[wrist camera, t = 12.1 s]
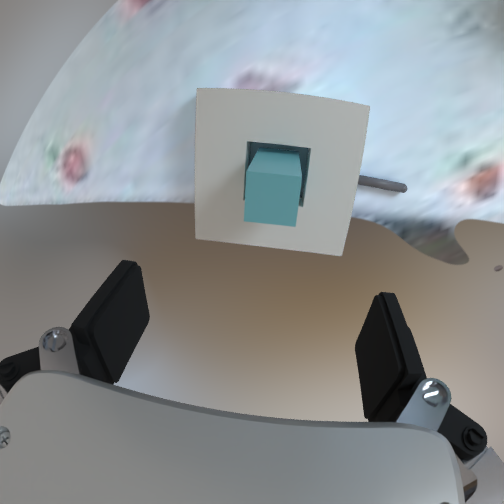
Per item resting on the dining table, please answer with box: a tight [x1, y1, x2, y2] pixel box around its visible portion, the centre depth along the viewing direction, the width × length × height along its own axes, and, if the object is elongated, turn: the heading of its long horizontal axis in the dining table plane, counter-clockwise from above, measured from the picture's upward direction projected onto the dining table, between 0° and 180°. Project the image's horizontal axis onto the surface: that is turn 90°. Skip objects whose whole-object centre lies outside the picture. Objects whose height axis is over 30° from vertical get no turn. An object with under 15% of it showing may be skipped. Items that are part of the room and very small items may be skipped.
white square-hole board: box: [195, 88, 407, 256], centre depth 29 cm, size 22×16×3 cm
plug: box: [244, 147, 302, 227], centre depth 26 cm, size 4×4×10 cm
